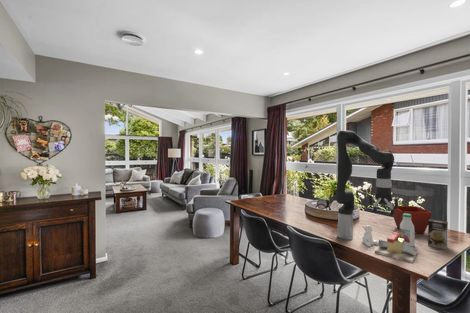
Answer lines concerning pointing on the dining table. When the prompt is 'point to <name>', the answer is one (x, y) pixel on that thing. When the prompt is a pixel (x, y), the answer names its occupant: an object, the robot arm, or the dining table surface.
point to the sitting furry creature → (368, 237)
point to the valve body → (397, 247)
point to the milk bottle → (407, 230)
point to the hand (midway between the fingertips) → (383, 214)
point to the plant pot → (413, 217)
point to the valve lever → (393, 237)
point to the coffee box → (437, 233)
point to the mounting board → (396, 255)
